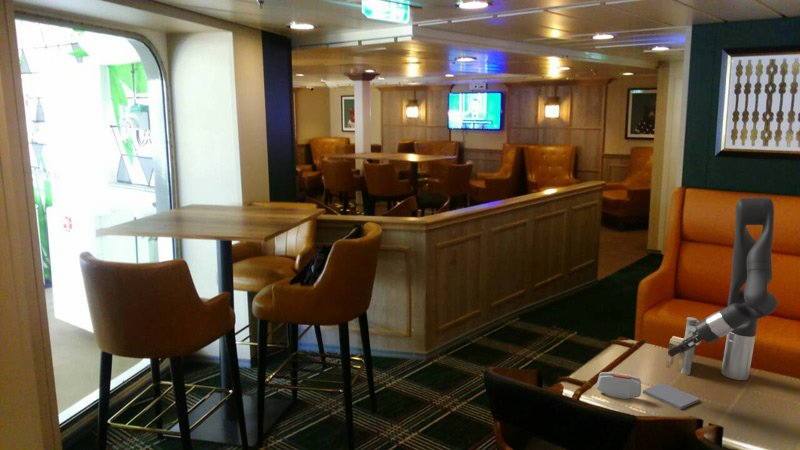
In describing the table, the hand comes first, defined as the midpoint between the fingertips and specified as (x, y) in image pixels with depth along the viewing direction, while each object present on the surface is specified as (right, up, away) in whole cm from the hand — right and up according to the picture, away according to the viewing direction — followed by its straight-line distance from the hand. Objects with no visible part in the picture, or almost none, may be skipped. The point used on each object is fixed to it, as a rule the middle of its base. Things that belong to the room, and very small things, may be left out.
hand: (671, 351), depth 214 cm
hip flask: (+18, -12, +29) cm, 36 cm away
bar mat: (+1, -16, +2) cm, 16 cm away
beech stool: (+1, -5, 0) cm, 5 cm away
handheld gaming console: (-18, -16, +1) cm, 24 cm away
